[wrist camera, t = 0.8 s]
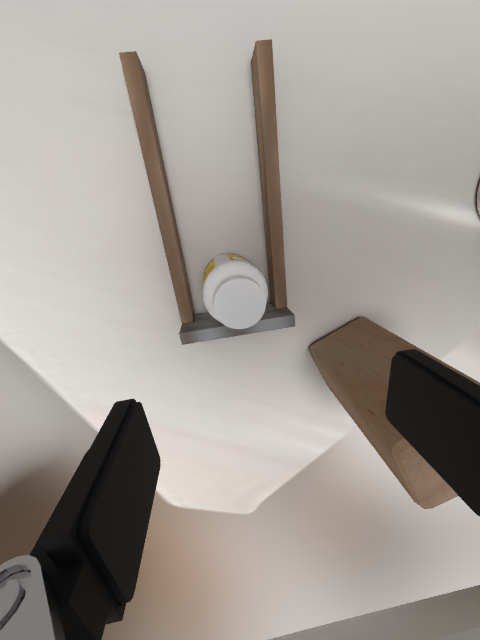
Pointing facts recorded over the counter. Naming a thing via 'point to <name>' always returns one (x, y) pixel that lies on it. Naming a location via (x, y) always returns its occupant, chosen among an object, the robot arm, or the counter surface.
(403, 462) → the block
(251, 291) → the supplement bottle
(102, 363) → the counter surface
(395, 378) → the robot arm
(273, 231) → the shelf lane
